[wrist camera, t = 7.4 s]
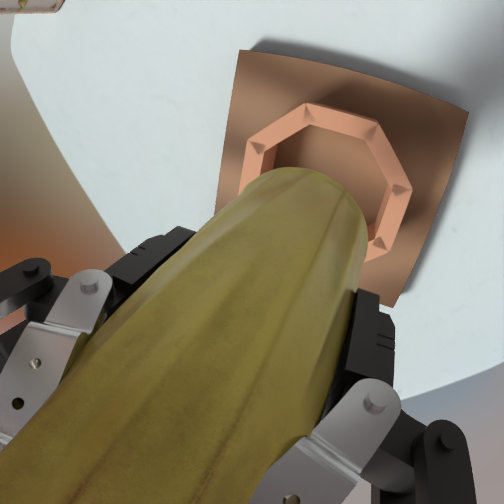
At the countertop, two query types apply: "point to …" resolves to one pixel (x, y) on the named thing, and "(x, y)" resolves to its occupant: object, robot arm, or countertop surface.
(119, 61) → the countertop surface
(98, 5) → the countertop surface
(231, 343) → the vase
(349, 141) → the board
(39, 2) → the decorative jar
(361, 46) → the countertop surface
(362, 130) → the holder ring
